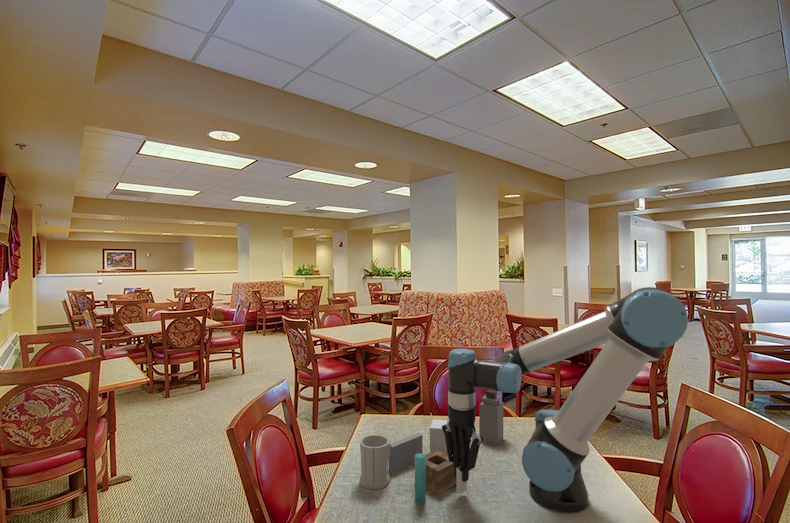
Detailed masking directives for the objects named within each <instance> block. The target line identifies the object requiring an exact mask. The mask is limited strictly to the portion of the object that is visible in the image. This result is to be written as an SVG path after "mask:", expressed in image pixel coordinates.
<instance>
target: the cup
mask: <svg viewBox="0 0 790 523" xmlns="http://www.w3.org/2000/svg"><path fill="white" fill-rule="evenodd" d="M390 442H391V441H390V438H388V437H387V436H385V435H382V434H370V435H366V436H364V437H362V438H360V440H359V449H360V464H361V466H360V467H361V468H360V469H361V471H360V475H359V483H360V484H361V486H362V487H364V488H366V489H369V490H379V489H382V488H385V487H386V486H387V485H388V484H389V483H390V474H389V457H390V455H391V445H390V444H391V443H390Z"/></svg>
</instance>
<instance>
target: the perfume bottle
mask: <svg viewBox="0 0 790 523" xmlns="http://www.w3.org/2000/svg"><path fill="white" fill-rule="evenodd" d="M501 397H502V396H501V395H498V391H495V390H489V389H486V390H485V394H484V395H483V396H482V397H481V403H479V406H478V409H479V412H478V413H479V416H478V417H479V419H478V420H479V421H478V422H479V429H478V430H479V431H478V432H479V435H478V436H479V437H480V436H482V437H483V441H482V442H481V443H485V444H489V445H493V446H496V447H498V446H499V444H501V442H503V440H504V402H503V401H500V400H501Z"/></svg>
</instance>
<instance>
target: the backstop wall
mask: <svg viewBox="0 0 790 523" xmlns="http://www.w3.org/2000/svg"><path fill="white" fill-rule="evenodd" d="M390 445H391V455H390V457H389V459H388V472H390V473H392V474H394V473H397V472H398V471H400V470H402V469H405V468H407V467H409V466H411V465H415V455H416V454H419V453H421V454H423V434H420V433H416V434H412V435H410V436H408V437H405V438H402V439H400V440H397V441H394V442H392V443H390Z"/></svg>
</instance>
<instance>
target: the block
mask: <svg viewBox="0 0 790 523" xmlns="http://www.w3.org/2000/svg"><path fill="white" fill-rule="evenodd" d="M425 455H426V489H428V490H430V491H432V492H433V493H435V494H436V495H440V494H442V493H443V492H445V491H447V490H449V489H450V488H452V487H455V485H456V477H455V466H454V464H453V463H452V462H450V461H449V459H448V454H447V455H446V454H444V453H442V452H440V451H438V450H435V451H432V452H430V451H429V453H428V452H427V453H426V454H425Z"/></svg>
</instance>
